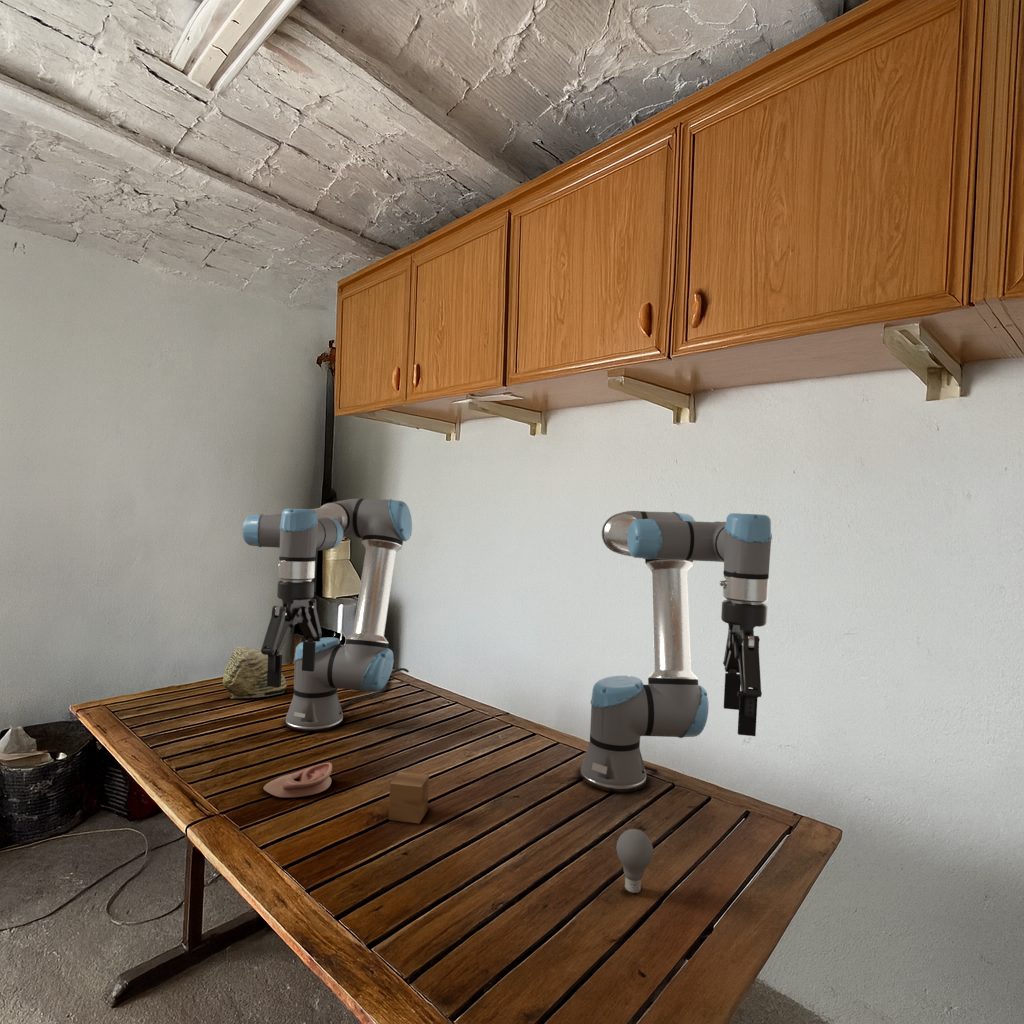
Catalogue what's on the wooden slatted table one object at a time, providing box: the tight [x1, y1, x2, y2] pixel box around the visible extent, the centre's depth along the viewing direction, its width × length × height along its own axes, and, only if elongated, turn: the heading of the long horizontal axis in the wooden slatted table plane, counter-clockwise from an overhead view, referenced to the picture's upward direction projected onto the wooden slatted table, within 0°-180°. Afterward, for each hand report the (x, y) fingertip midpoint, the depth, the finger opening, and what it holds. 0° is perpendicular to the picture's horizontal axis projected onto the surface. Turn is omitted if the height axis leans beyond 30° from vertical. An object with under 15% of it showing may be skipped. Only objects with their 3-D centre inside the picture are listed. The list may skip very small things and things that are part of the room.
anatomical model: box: [262, 762, 333, 799], centre depth 138 cm, size 13×4×12 cm
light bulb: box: [615, 828, 654, 894], centre depth 106 cm, size 6×6×10 cm
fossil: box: [222, 646, 288, 699], centre depth 198 cm, size 9×18×15 cm, turn 132°
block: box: [388, 771, 430, 824], centre depth 128 cm, size 6×6×7 cm
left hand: (291, 678), depth 137 cm, fingers open, 13 cm apart
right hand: (738, 721), depth 112 cm, fingers open, 13 cm apart
